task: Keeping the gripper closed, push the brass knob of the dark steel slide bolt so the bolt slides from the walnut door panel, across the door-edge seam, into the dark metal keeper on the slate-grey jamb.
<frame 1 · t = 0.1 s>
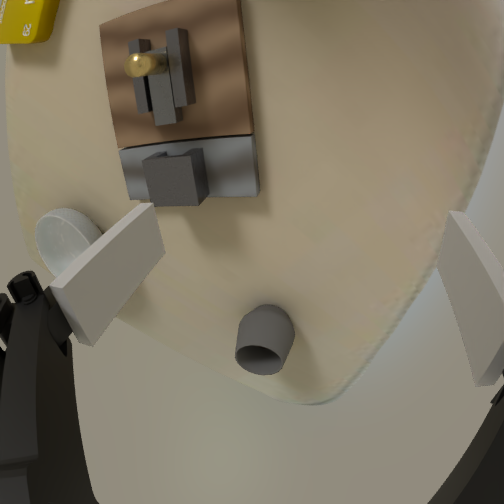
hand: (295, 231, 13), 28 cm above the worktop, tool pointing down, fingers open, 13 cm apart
bolt housing: (166, 118, 36), on the door and jamb, point 4 cm above the worktop
door and jamb: (178, 104, 38), on the worktop
element tile: (36, 4, 32), on the worktop
cup: (271, 316, 55), on the worktop
cereal bowl: (87, 236, 56), on the worktop
bolt: (153, 87, 32), point 6 cm above the worktop, slide at 0.0 cm
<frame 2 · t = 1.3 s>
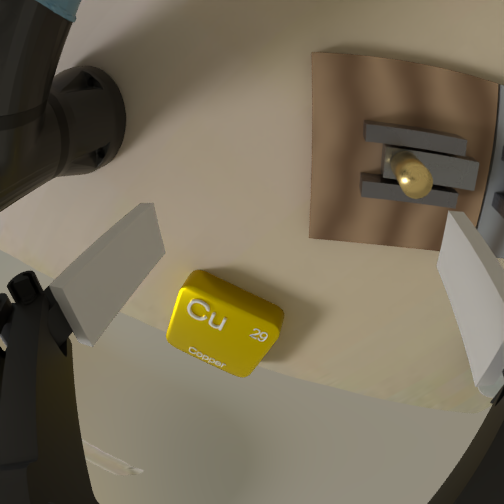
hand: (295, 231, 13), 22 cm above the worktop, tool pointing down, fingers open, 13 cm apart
bolt housing: (469, 174, 25), on the door and jamb, point 4 cm above the worktop
door and jamb: (447, 161, 28), on the worktop
element tile: (226, 317, 49), on the worktop
bolt: (438, 174, 24), point 6 cm above the worktop, slide at 0.0 cm
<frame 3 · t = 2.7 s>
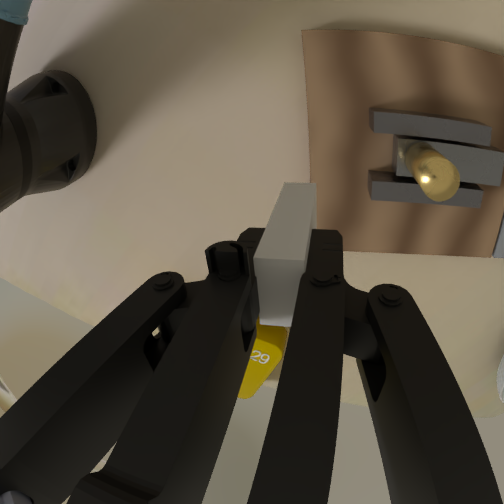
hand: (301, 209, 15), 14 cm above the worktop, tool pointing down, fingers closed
bolt housing: (494, 167, 20), on the door and jamb, point 4 cm above the worktop
door and jamb: (465, 152, 23), on the worktop
element tile: (223, 336, 44), on the worktop
bolt: (461, 168, 19), point 6 cm above the worktop, slide at 0.0 cm
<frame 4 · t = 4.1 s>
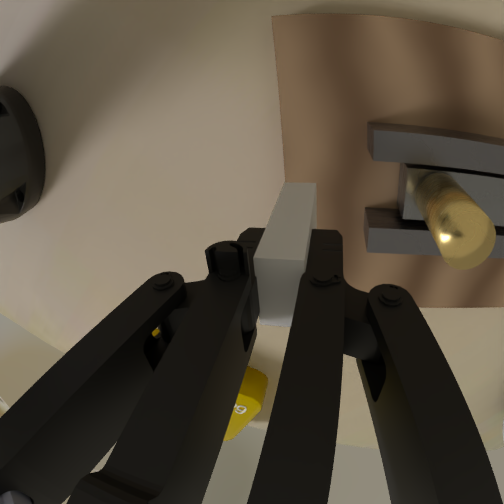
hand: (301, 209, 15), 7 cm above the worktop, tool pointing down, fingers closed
door and jamb: (491, 180, 17), on the worktop
element tile: (199, 377, 38), on the worktop
bolt: (492, 211, 13), point 6 cm above the worktop, slide at 0.0 cm
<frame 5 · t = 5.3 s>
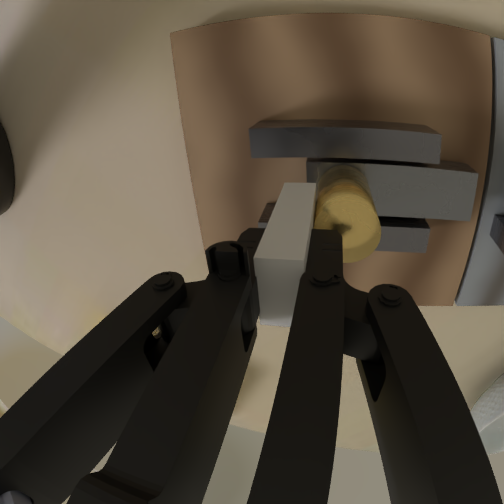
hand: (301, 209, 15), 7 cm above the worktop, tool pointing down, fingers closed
bolt housing: (450, 193, 15), on the door and jamb, point 4 cm above the worktop
door and jamb: (415, 170, 19), on the worktop
bolt: (402, 202, 14), point 6 cm above the worktop, slide at 0.8 cm, touching gripper
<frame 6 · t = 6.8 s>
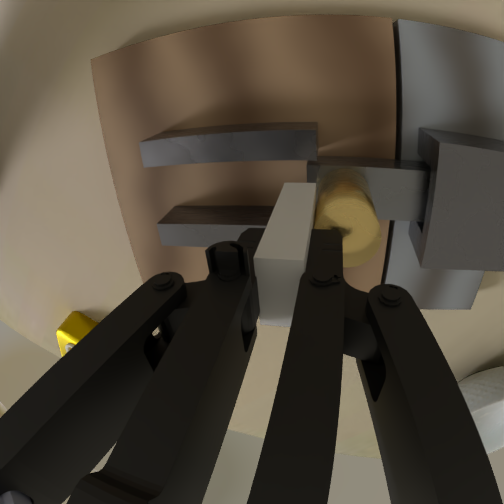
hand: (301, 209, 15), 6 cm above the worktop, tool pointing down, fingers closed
bolt housing: (340, 190, 17), on the door and jamb, point 4 cm above the worktop
door and jamb: (320, 168, 20), on the worktop
element tile: (117, 358, 41), on the worktop
cereal bowl: (475, 387, 28), on the worktop
bolt: (402, 206, 14), point 6 cm above the worktop, slide at 7.4 cm, touching gripper
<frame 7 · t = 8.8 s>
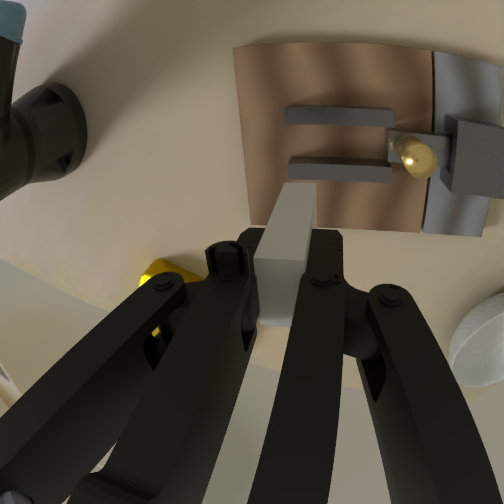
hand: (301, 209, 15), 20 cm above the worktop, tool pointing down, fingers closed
bolt housing: (404, 147, 26), on the door and jamb, point 4 cm above the worktop
door and jamb: (385, 137, 30), on the worktop
element tile: (189, 305, 51), on the worktop
cereal bowl: (489, 318, 38), on the worktop
bolt: (441, 155, 24), point 6 cm above the worktop, slide at 7.6 cm
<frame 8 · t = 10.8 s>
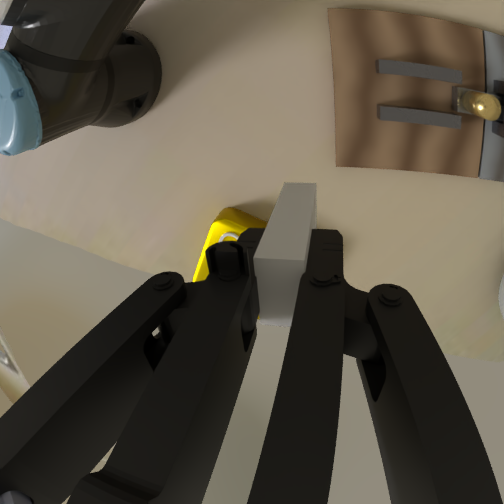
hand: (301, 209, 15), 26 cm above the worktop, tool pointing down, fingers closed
bolt housing: (468, 101, 26), on the door and jamb, point 4 cm above the worktop
door and jamb: (448, 96, 30), on the worktop
element tile: (253, 259, 51), on the worktop
bolt: (497, 108, 24), point 6 cm above the worktop, slide at 7.6 cm
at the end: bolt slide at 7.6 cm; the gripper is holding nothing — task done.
